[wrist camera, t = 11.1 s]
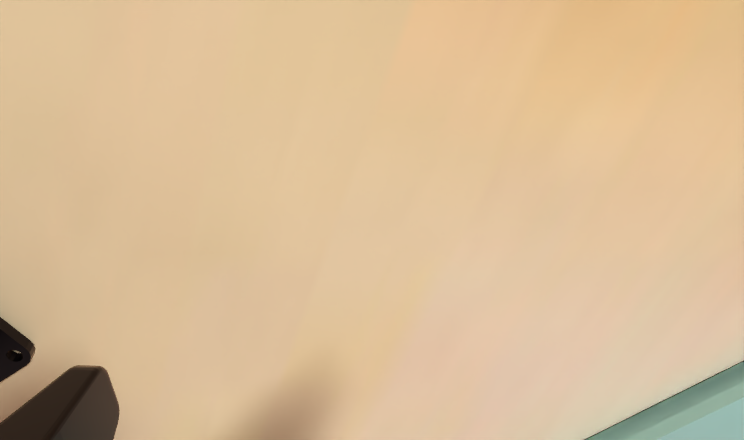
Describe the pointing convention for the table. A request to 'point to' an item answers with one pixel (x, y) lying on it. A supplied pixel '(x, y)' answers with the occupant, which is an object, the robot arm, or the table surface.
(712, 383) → the tray
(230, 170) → the table surface
